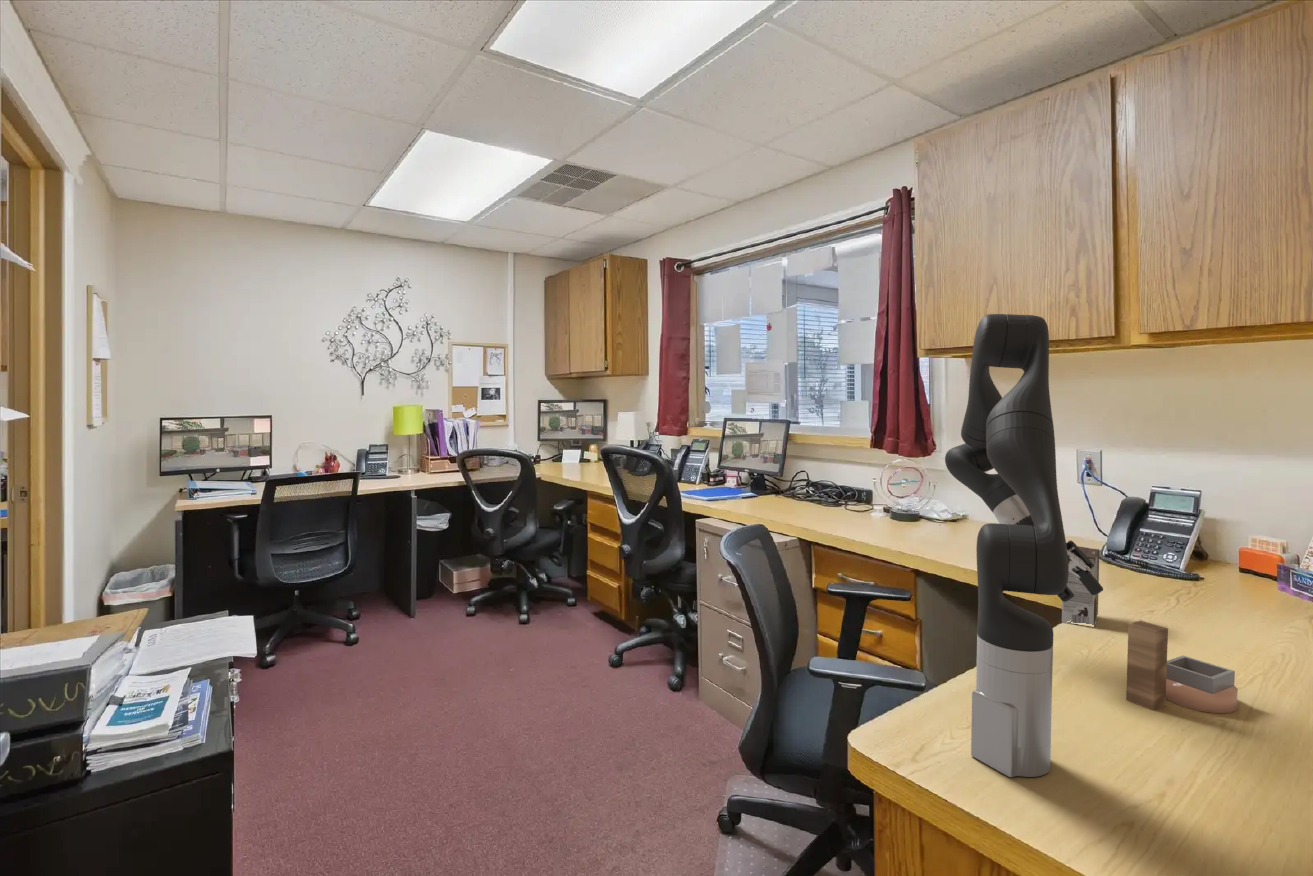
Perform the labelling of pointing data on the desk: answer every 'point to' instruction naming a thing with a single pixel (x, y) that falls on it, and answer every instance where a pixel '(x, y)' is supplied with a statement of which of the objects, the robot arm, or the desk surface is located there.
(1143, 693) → the brown wooden block
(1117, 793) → the desk surface
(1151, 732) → the desk surface
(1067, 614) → the coffee box
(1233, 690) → the dish
